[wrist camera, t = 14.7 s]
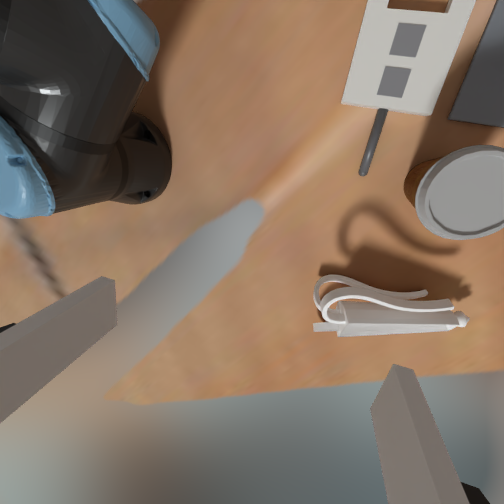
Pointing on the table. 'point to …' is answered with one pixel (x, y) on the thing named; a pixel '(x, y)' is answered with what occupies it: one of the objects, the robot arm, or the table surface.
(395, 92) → the socket strip
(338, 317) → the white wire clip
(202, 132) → the table surface
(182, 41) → the table surface
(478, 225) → the disposable coffee cup
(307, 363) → the table surface
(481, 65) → the rubber mat
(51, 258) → the table surface
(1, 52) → the robot arm
